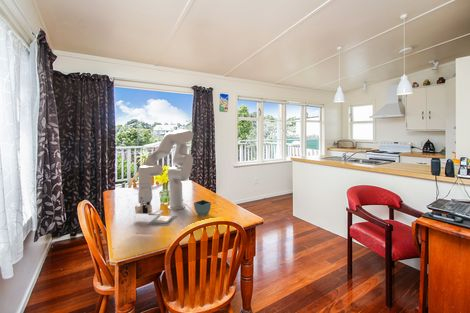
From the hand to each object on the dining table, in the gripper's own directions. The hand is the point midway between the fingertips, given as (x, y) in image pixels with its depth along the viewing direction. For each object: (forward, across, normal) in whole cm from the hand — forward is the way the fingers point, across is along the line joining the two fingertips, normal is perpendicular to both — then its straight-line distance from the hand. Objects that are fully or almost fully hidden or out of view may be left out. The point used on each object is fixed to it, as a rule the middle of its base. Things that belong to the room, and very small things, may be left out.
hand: (146, 212), depth 148 cm
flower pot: (+6, -14, +34) cm, 37 cm away
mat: (+6, 0, +11) cm, 12 cm away
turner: (+1, 0, +1) cm, 2 cm away
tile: (+4, 0, +8) cm, 9 cm away
